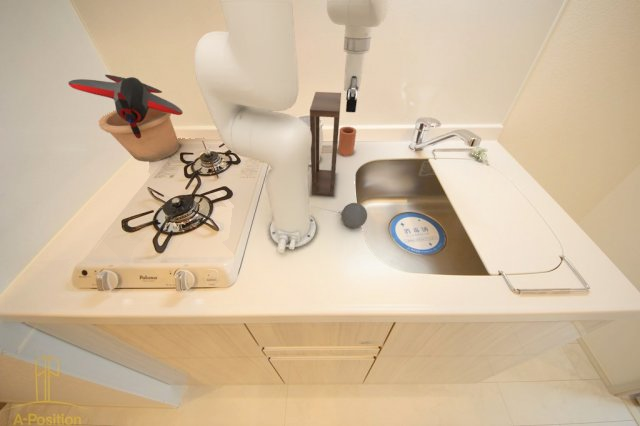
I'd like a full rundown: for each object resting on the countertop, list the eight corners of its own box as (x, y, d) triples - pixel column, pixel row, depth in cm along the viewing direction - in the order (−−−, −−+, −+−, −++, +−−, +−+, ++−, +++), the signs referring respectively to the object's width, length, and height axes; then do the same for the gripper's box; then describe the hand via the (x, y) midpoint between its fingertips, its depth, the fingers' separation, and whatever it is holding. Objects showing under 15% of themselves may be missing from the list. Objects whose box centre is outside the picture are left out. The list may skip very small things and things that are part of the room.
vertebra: (484, 157, 79) (494, 149, 78) (468, 147, 83) (477, 140, 83) (483, 166, 84) (492, 159, 83) (468, 156, 88) (476, 150, 88)
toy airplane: (72, 35, 63) (82, 84, 72) (52, 78, 52) (67, 129, 62) (183, 74, 79) (179, 110, 89) (185, 113, 68) (181, 149, 78)
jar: (292, 155, 86) (288, 117, 75) (315, 149, 89) (315, 112, 78) (302, 169, 79) (299, 130, 68) (327, 163, 82) (328, 124, 71)
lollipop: (292, 226, 59) (301, 236, 65) (367, 220, 54) (368, 231, 60) (295, 197, 63) (303, 208, 69) (364, 188, 58) (366, 201, 64)
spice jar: (353, 156, 86) (356, 134, 79) (337, 155, 86) (339, 133, 79) (353, 147, 90) (356, 127, 83) (338, 147, 90) (340, 126, 84)
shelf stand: (333, 196, 70) (339, 111, 50) (312, 195, 70) (309, 109, 50) (335, 174, 78) (341, 92, 58) (316, 172, 78) (315, 91, 58)
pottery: (129, 173, 77) (98, 135, 66) (123, 147, 89) (97, 111, 79) (192, 153, 86) (174, 117, 75) (179, 132, 98) (162, 98, 87)
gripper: (344, 38, 68) (340, 96, 81) (343, 51, 57) (338, 116, 70) (368, 38, 68) (360, 96, 81) (371, 52, 56) (362, 117, 69)
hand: (350, 105), depth 75 cm, fingers open, 9 cm apart
